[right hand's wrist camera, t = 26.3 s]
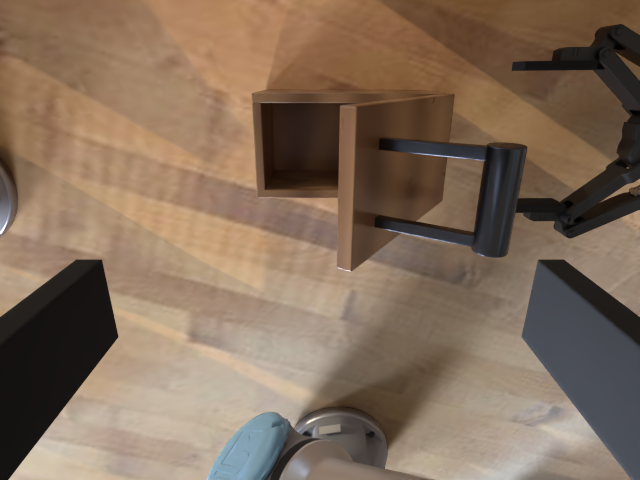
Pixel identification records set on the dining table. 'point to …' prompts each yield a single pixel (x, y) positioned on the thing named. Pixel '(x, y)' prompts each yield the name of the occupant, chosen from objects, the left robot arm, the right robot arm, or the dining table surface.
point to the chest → (304, 138)
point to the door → (416, 178)
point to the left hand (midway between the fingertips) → (506, 140)
